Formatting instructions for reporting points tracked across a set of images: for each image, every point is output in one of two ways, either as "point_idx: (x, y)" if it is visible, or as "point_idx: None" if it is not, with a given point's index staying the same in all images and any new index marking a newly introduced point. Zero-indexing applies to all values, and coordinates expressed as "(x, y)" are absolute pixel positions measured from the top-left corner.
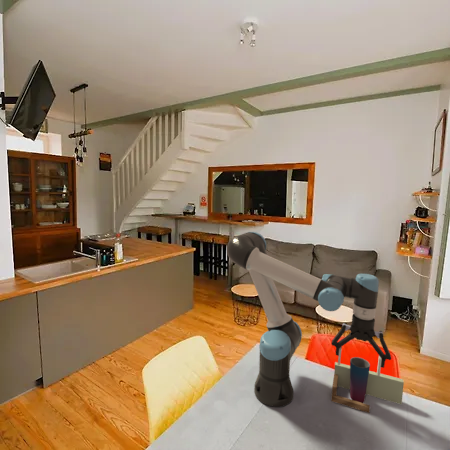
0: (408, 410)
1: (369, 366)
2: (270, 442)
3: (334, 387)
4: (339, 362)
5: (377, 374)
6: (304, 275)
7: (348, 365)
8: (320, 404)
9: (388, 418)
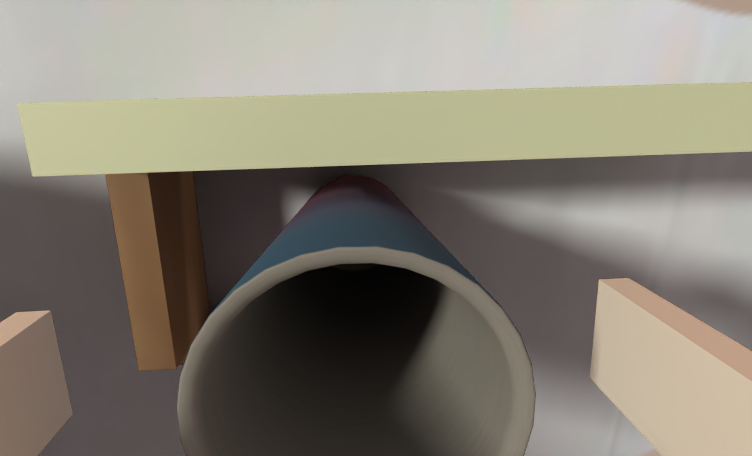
0: (693, 175)
1: (522, 453)
2: None
3: (159, 369)
4: (34, 448)
5: (600, 386)
6: None
7: (206, 100)
8: (127, 408)
9: (547, 320)
